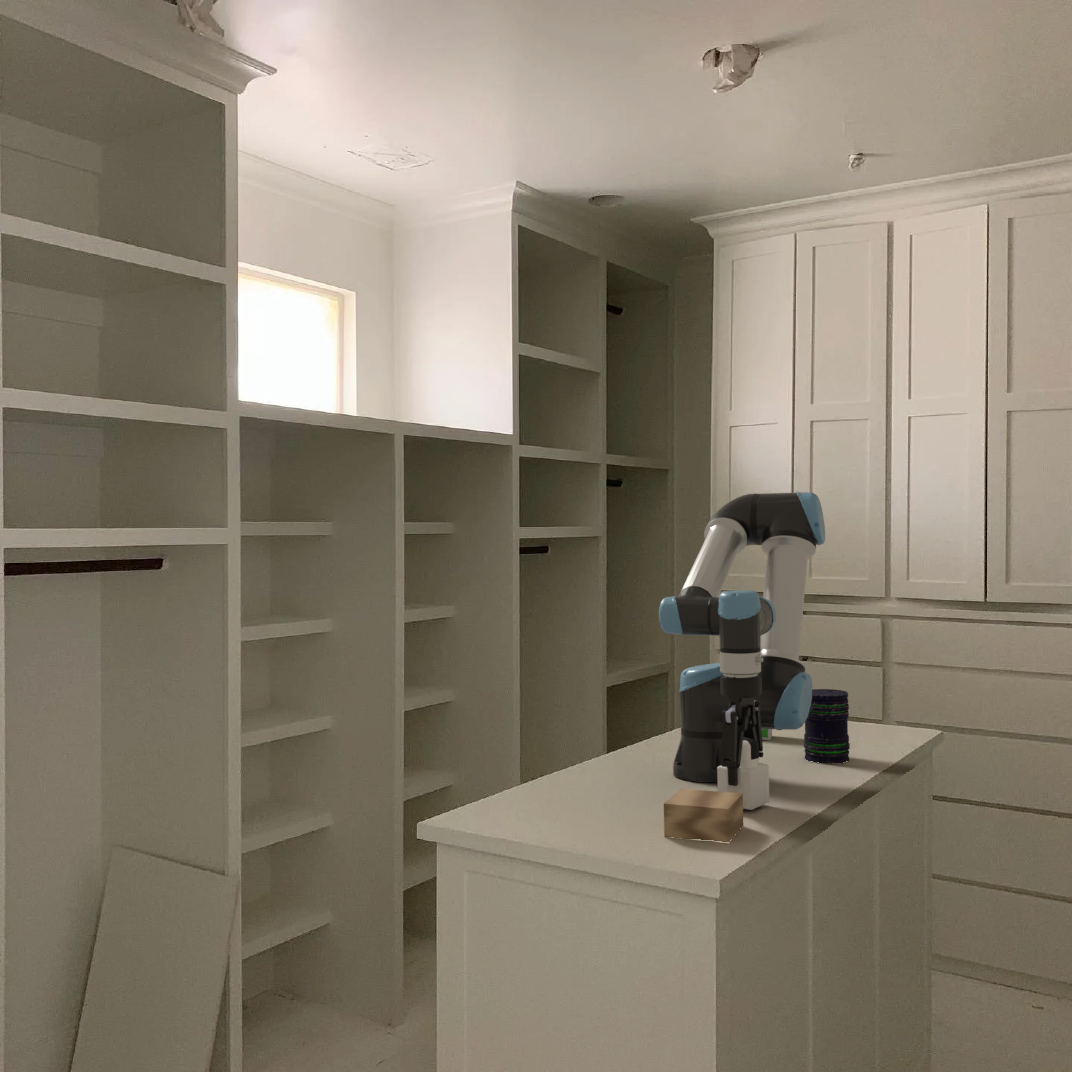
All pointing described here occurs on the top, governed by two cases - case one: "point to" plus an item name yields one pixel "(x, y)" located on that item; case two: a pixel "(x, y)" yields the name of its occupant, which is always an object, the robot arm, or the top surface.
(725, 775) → the medicine bottle
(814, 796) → the top surface
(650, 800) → the top surface
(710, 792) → the oak box
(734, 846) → the top surface
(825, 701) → the storage jar
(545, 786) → the top surface
